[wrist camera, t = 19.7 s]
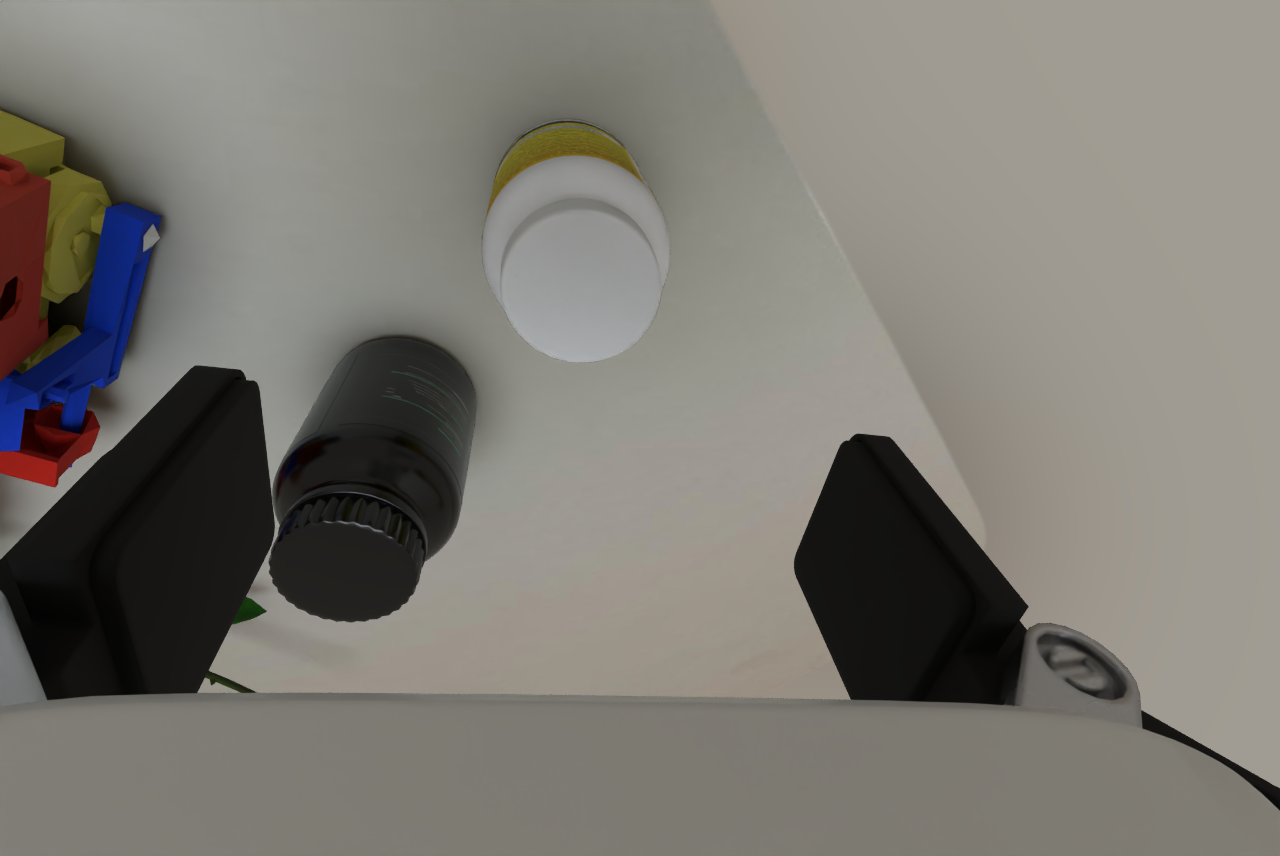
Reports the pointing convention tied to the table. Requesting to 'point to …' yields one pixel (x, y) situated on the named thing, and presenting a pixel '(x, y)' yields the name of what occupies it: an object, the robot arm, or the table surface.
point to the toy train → (59, 299)
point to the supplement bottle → (372, 481)
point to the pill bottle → (575, 242)
